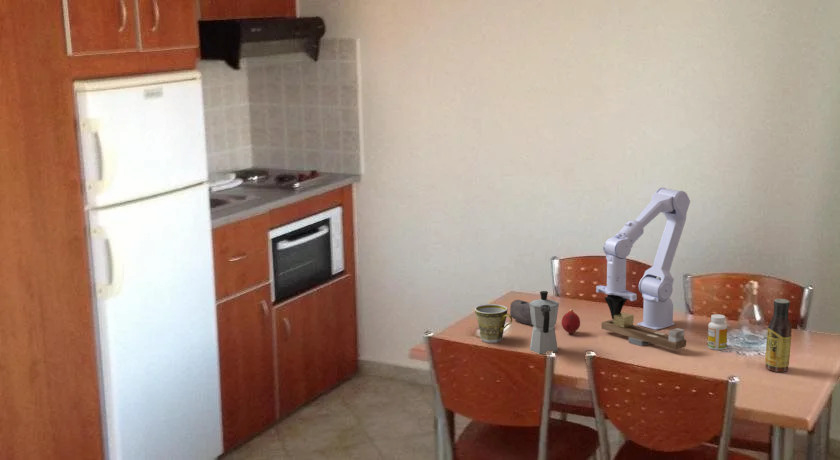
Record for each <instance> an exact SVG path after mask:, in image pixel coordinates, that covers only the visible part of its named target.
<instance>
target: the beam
mask: <svg viewBox="0 0 840 460" xmlns="http://www.w3.org/2000/svg"><path fill="white" fill-rule="evenodd" d="M601 329H602V330H605V331H609V332H611V333H615V334H619V335H622V336H625V337H628V340H627V341H628V343H629V344H632V345H635V346H639V347H644V346H647V345H650V344H654V345H657V346H660V347H663V348H667V349H671V350H675V351H676V350H680V349H682V348H686V347H687V339H685V329H682V328H678V327H677V328H673V329H670V330H669V331H668V334H667V333H663V332H660V331H657V330H654V329H650V328H646V327H643V326H639V325H635V324H633V325H631V326H629V328H627V327H625V328H623V327H619V326H616V325H614V319H612V318H611V319H608V320H606V321H605V320H604V321H602V322H601Z"/></svg>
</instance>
